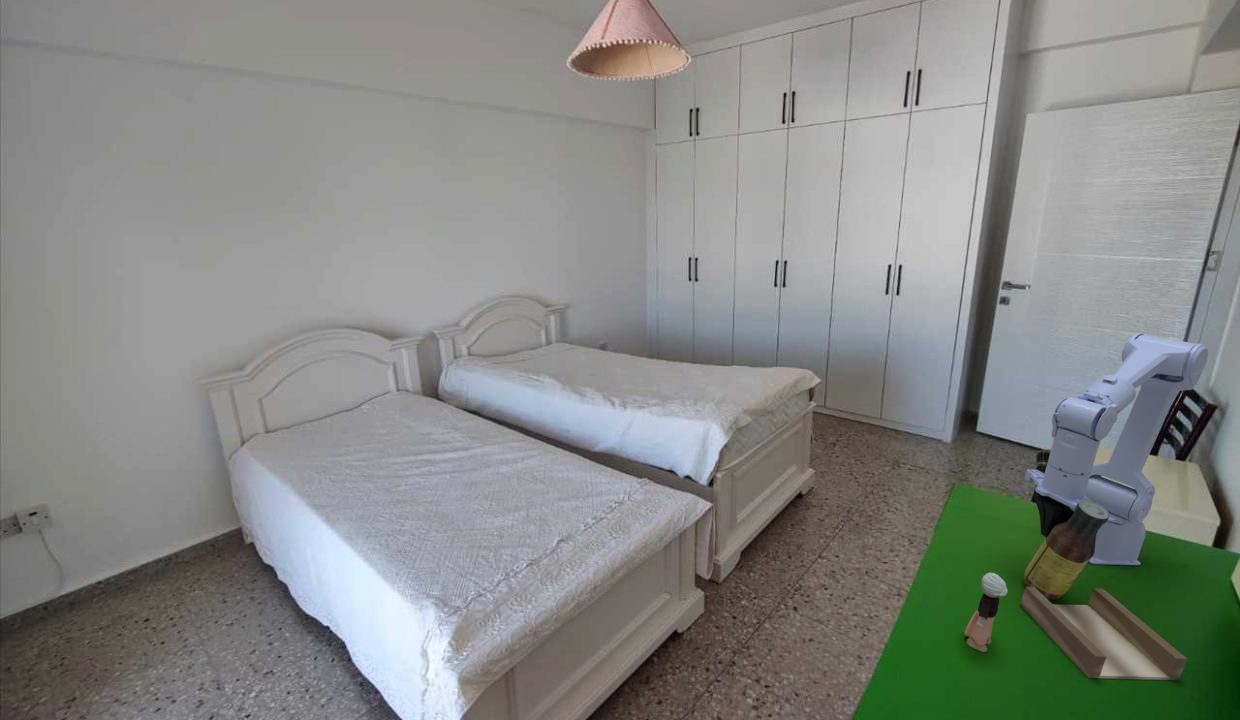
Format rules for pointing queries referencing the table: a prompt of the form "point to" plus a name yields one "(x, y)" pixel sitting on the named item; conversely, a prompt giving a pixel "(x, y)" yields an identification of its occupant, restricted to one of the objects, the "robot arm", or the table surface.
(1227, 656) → the table surface
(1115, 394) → the robot arm
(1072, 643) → the u rest
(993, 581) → the grandmother figurine
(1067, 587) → the sauce bottle
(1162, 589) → the table surface
